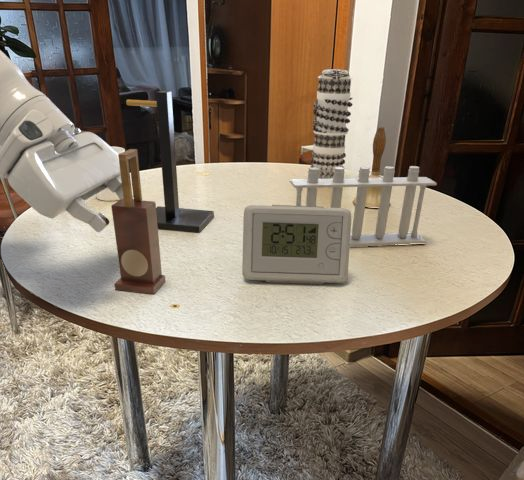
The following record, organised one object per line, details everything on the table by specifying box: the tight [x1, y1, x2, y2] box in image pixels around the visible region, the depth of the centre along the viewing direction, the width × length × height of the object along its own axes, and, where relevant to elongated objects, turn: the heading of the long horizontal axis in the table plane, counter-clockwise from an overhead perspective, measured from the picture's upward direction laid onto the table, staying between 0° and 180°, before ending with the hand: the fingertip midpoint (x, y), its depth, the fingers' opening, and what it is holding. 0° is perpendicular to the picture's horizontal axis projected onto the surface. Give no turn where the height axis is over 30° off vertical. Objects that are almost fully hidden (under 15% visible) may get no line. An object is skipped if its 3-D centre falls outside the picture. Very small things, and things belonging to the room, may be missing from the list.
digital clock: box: [241, 204, 352, 285], centre depth 77 cm, size 16×9×11 cm, turn 77°
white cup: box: [95, 145, 126, 202], centre depth 112 cm, size 8×8×10 cm
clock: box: [110, 148, 166, 295], centre depth 71 cm, size 6×5×19 cm
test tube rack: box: [289, 165, 438, 248], centre depth 89 cm, size 25×4×13 cm, turn 99°
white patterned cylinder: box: [309, 68, 354, 179], centre depth 123 cm, size 9×9×25 cm
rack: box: [125, 90, 215, 234], centre depth 95 cm, size 14×10×23 cm
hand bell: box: [352, 126, 387, 207], centre depth 110 cm, size 8×8×16 cm
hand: (120, 217), depth 71 cm, fingers open, 8 cm apart
